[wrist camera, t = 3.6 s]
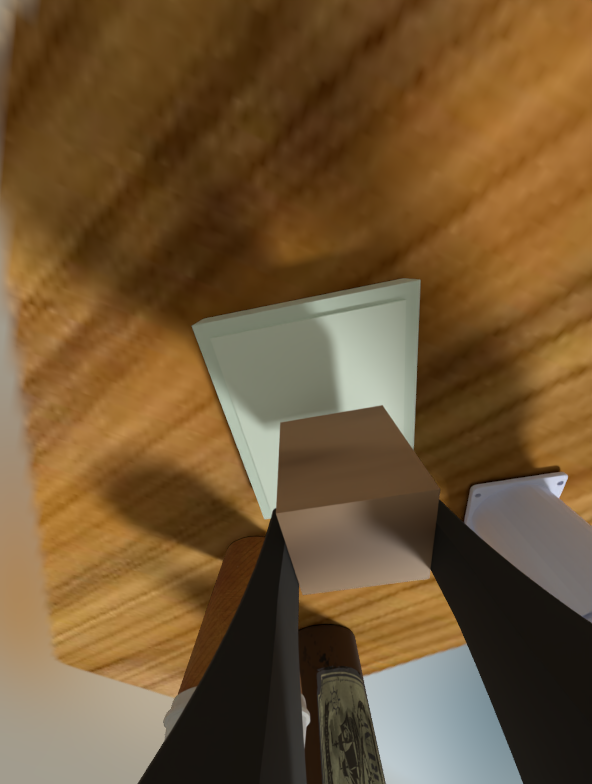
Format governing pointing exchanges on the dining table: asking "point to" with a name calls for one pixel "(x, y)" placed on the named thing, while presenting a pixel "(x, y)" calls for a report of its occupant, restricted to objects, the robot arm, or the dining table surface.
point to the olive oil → (336, 709)
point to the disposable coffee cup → (221, 622)
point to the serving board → (312, 366)
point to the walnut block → (354, 502)
